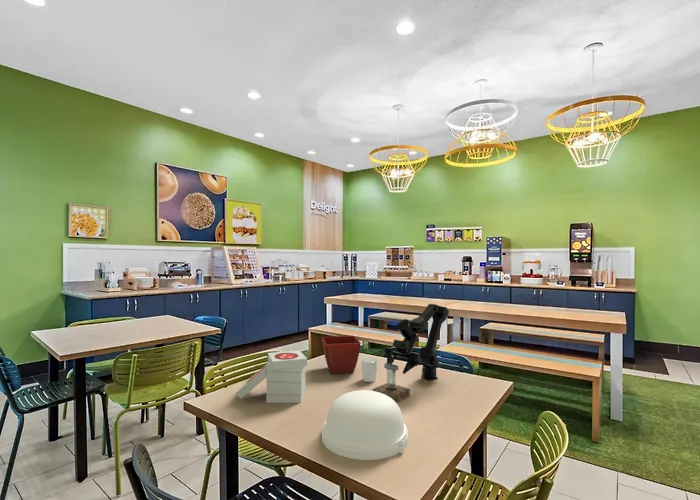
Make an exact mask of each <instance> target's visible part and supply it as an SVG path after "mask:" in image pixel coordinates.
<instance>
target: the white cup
mask: <svg viewBox="0 0 700 500" xmlns="http://www.w3.org/2000/svg"><path fill="white" fill-rule="evenodd" d="M361 372H362V373H361V374H362V381H364V382H367V383H372V382H376V381H377V374H378V373H377V372H378V359H376V358H373V357H372V358H371V357H365V358H362V359H361Z"/></svg>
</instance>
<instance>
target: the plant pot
mask: <svg viewBox="0 0 700 500" xmlns="http://www.w3.org/2000/svg"><path fill="white" fill-rule="evenodd" d="M321 340H322V349H323V353H324V357H325V363H326V365H327V369H328V371H329V374H331V375H333V374H334V375H335V374H351V373H354V372H355V370H356V368H357V367H356V366H357V365H358V364H357V363H358V360H359V355H360V351H361V344H362V343H361V342H360V341H361V340H359V339H358V338H357V337H356V336H354V335H340V336H338V335H337V336H323V337H321Z"/></svg>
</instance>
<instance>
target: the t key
mask: <svg viewBox="0 0 700 500" xmlns="http://www.w3.org/2000/svg"><path fill="white" fill-rule="evenodd" d="M383 367H384V368H385V369H386V368H387V369H386V370H387V372H386V375H387V377H386V378H387V379H386V381H387V382H386V383H387V390H390V391H394V390H395V385H396V371H399V365H397V364H393V363H392V364H389V363H387V362H385V363H384V366H383Z"/></svg>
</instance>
